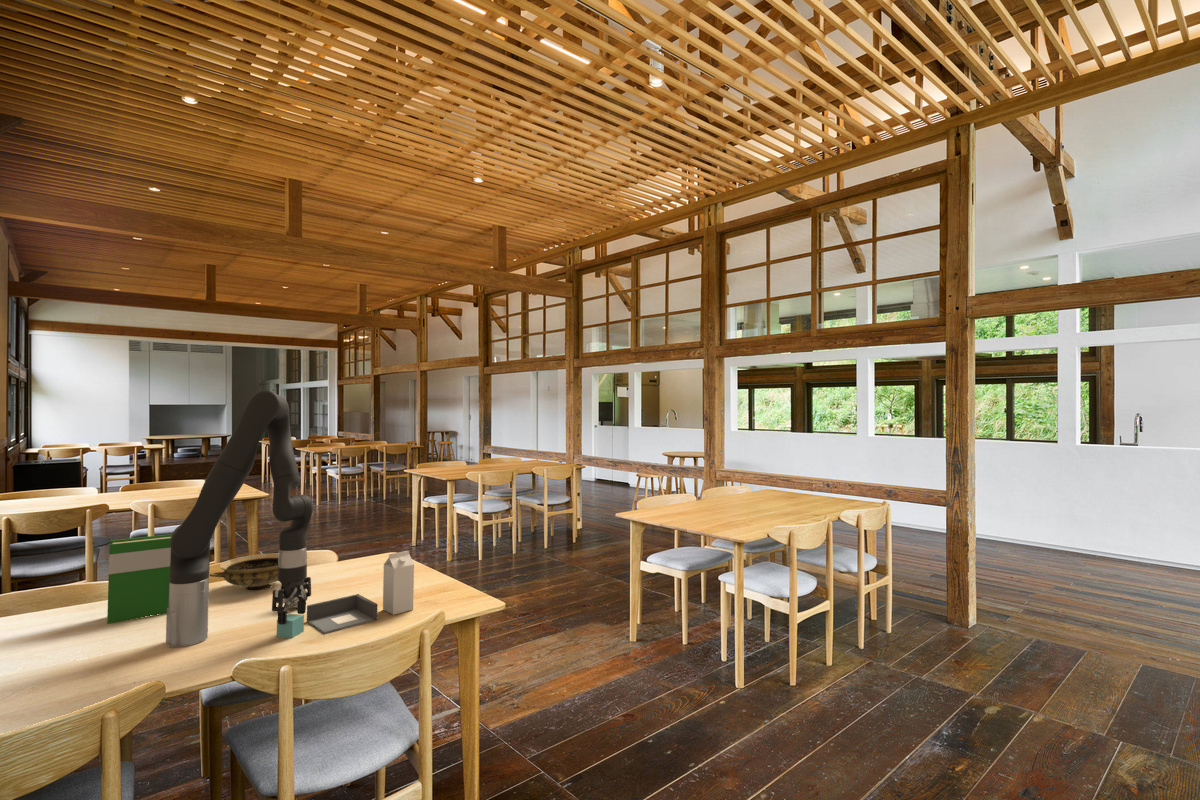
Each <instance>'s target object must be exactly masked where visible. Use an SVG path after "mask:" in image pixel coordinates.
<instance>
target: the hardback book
mask: <svg viewBox="0 0 1200 800" xmlns="http://www.w3.org/2000/svg"><path fill="white" fill-rule="evenodd" d="M171 536H172V533H169V534H160V535H150V536H149V535H148V536H139V537H131V538H122V539H111V540H109V550H108V551H109V553H108V583H107V584H108V586H107V587H108V588H107V590H108V591H107V619H106V624H109V625H110V624H114V623H115V624H116V623H121V622H126V620H127V621H131V619H133V620H137V619H136V618H138V619H142V618H141V617H144V618H146V617H145V616H150V615H156V616H158V615H157V614H161V615H165V614H164V613H167V608H169V573H170V558H171V548H170V539H171ZM150 617H151V616H150Z"/></svg>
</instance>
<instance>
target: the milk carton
mask: <svg viewBox="0 0 1200 800" xmlns="http://www.w3.org/2000/svg"><path fill="white" fill-rule="evenodd" d="M382 578H383V582H382V584H383V586H382V587H383V588H382V610H383V611H384V612H387V613H389V614H391V615H398V614H402V613H406V612H410V611H413V610H414V597H415V596H414V592H415V591H414V587H415V586H414V585H415V563H414V561H413V559H412V557H411V555H410V550H404V551H399V552H393V553H388V558H387V559H386V561H385V562H384V563H383V577H382Z"/></svg>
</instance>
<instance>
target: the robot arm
mask: <svg viewBox="0 0 1200 800" xmlns="http://www.w3.org/2000/svg"><path fill="white" fill-rule="evenodd" d="M290 416H291V415H290V407H289V403H288V401H287V400H286V399H285V398H284V397H283V396H281V395H279V394H277V393H275V392H274V391H271V390H267V389H266V390H261V391H258V392H256V393H254V394H253V395H252V396H251V398H250V399H249V400H248V402H247V404H246V405H245V408H244V411H243V413H242V415H241V417H240V420H239V422H238V424H237V426H236V427H235V430H234V431H233V433H232V435H231V436H230V437H229V440H228V441H227V443H226V444H225V446H224V448H223V449H222V451H221V453H220V454H219V456H218V458H217V459H216V461H215V462H214V464H213V465H212V467H211V469H210V471H209V473H208V475H207V477H206V478H205V481H204V483H203V485H202V487H201V490H200V492H199V494H198V498H197V500H196V502H195V504H194V506H193V508H192V509H191V510H190V512H189V514H188V515H187V517H185V519H184V521H183V522H182V523H181V524H180V525H178V526H177V527H176V528H175V529H174V530H173V532H172V533H171V534H172V536H171V539H170V548H171V558H170V573H169V608H167V614H166V619H165V622H166V623H165V625H166V626H165V643H166V645H167V646H168V647H169V648H170V649H171V648H176V647H177V648H178V647H179V648H180V647H188V646H191V645H192V646H193V645H197V644H199V643H201V642H203V641H205V640H206V639H208V635H209V634H208V632H209V628H208V627H209V596H210V595H209V593H210V592H209V590H210V586H209V585H210V561H211V560H210V555H211V553H210V552H211V539H212V538H213V535H214V532H215V530H216V528H217V527H218V524H219V522H220V520H221V517H222V516H223V514H225V511H226V510H227V509H228V507H229V506H230V504H231V503H232V502H233V500H234V499H235V498H236V496H237V494H238V493H239V491H241V488H242V486H243V485H244V484H245V481H246V480H247V478H248V477H249V474H250V473H251V471H252V470H253V467H254V465H255V461H256V457H257V450H258V448H259V447H258V446H259V443H260V440H261V437H262V436H263V434H264V432H265V431H266V434H267V437H268V442H269V453H268V455H269V456H268V461H269V463H268V464H269V470H270V475H271V479H272V482H273V494H272V495H273V496H272V509H271V510H272V513H273V516H274V518H275V519H277V520H278V521H279V522H290V521H292V522H291V524H290V525H289V526H287V527H285V528H283V529H282V530H281V531H280V532H279V536H278V537H279V540H278V541H279V542H278V544H279V545H278V547H279V548H278V549H279V550H278V553H279V556H278V581H277V582H279V583H280V584H281V585H280V589H273V590H272V597H271V598H272V602H271V612H277V620H278V624H281V625H284V624H286V623H287V615H288V613H287V612H288V611H287V610H288V608H289V607H288V605H289V604H290V603H291V602H292V600H293V599H294V598H295V597H296V598H297V599H298V600H299V601H297V607H296V608H297V613H296V614H298V615H305V613H307V604H306V603H307V600H308V598H309V597H312V578H311V577H310V576H307V575H308V553H307V551H308V550H307V532H308V529H309V525H310V522H311V518H312V515H313V511H314V504H313V501H312V498H311V497H309V496H308V495H307V494H296V495H291V496H290V493H291V492H290V491H291V490H292V489H295V488H296V487H299V485H301V476H300V473H299V469H298V464H297V460H296V457H295V452H294V447H293V442H292V441H293V440H292V435H291V433H292V432H291V424H290V422H291V421H290V420H291V419H290V418H291V417H290ZM305 589H306V591H307V592H305ZM283 598H285V599H286V600H284V599H283ZM287 607H288V608H287ZM187 645H188V646H187Z"/></svg>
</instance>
